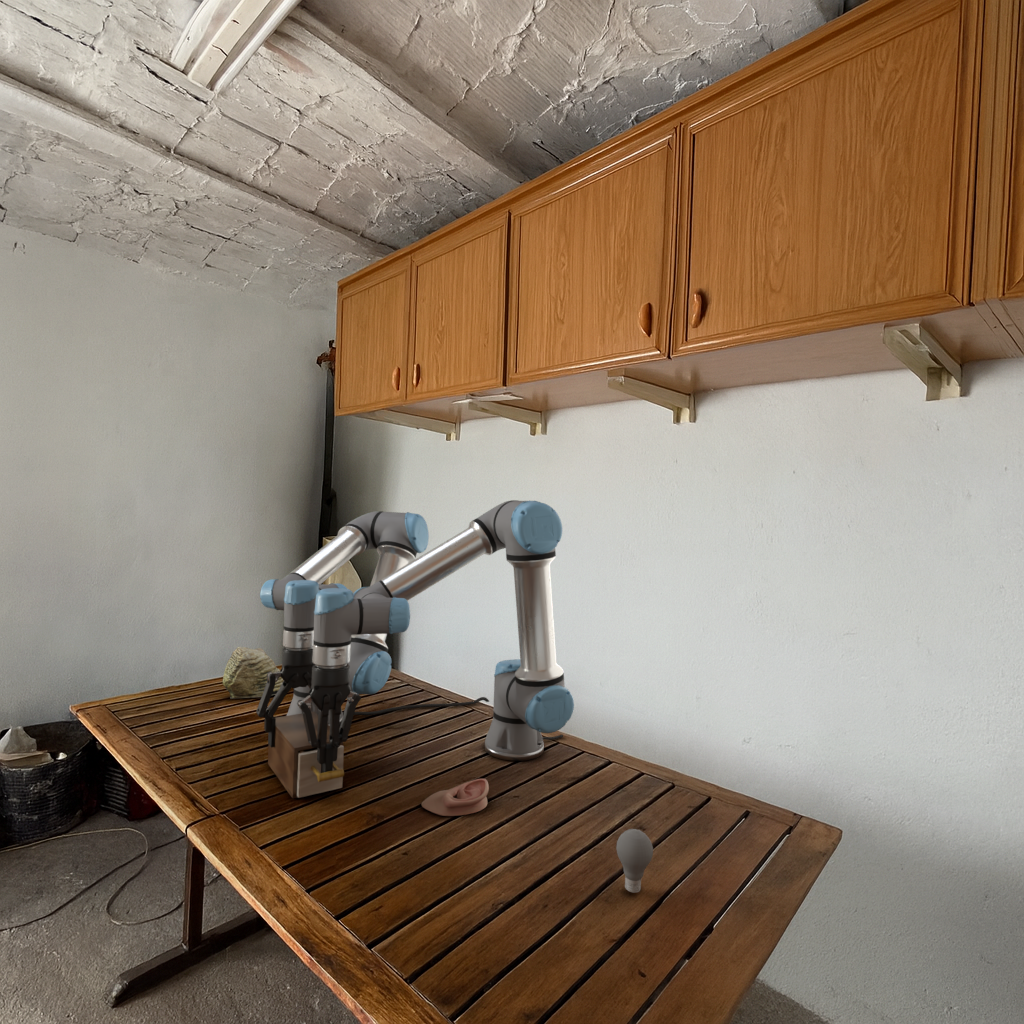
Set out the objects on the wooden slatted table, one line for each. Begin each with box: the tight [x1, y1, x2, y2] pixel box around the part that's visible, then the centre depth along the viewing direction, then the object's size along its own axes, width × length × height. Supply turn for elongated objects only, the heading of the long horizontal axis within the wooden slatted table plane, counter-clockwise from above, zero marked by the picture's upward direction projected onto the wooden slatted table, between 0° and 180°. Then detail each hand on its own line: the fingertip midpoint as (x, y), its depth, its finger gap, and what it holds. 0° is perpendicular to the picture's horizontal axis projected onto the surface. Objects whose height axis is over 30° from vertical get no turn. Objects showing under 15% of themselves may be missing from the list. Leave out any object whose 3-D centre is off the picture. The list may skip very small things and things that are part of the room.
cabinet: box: [267, 712, 344, 799], centre depth 143 cm, size 20×10×11 cm, turn 35°
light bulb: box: [615, 828, 654, 894], centre depth 106 cm, size 6×6×10 cm
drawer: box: [297, 744, 345, 799], centre depth 139 cm, size 25×9×9 cm, turn 35°
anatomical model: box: [421, 778, 490, 817], centre depth 133 cm, size 13×4×12 cm
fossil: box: [222, 646, 284, 699], centre depth 198 cm, size 9×18×15 cm, turn 132°
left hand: (296, 740), depth 148 cm, fingers closed on cabinet, 11 cm apart
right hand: (326, 777), depth 131 cm, fingers closed
